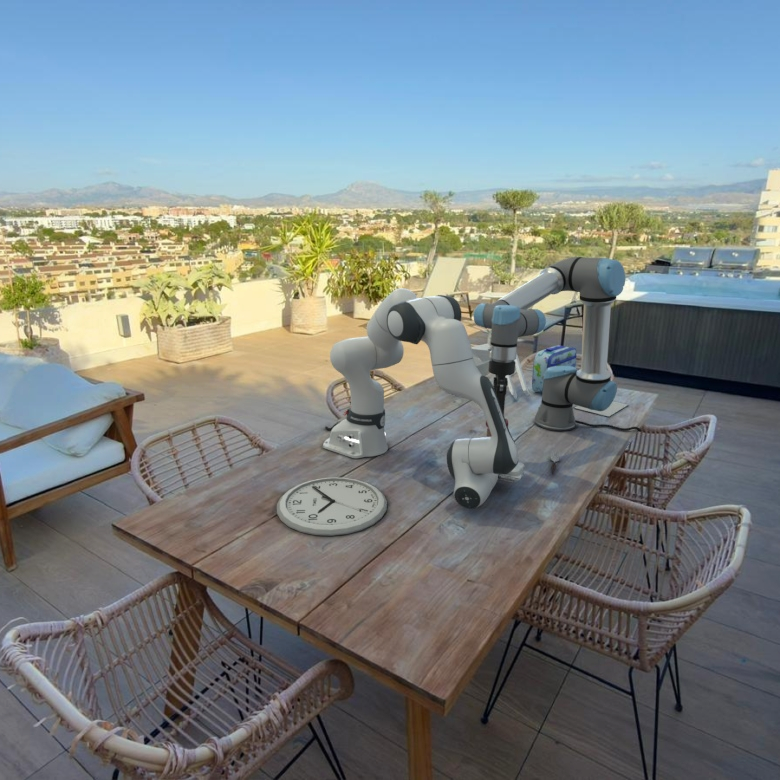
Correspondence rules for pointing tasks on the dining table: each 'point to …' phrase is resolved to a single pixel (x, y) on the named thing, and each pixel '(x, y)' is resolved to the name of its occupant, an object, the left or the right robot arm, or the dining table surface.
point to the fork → (554, 461)
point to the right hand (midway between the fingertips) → (496, 432)
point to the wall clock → (331, 506)
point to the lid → (505, 419)
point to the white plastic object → (482, 364)
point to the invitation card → (609, 411)
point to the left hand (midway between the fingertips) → (494, 455)
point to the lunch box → (551, 363)
